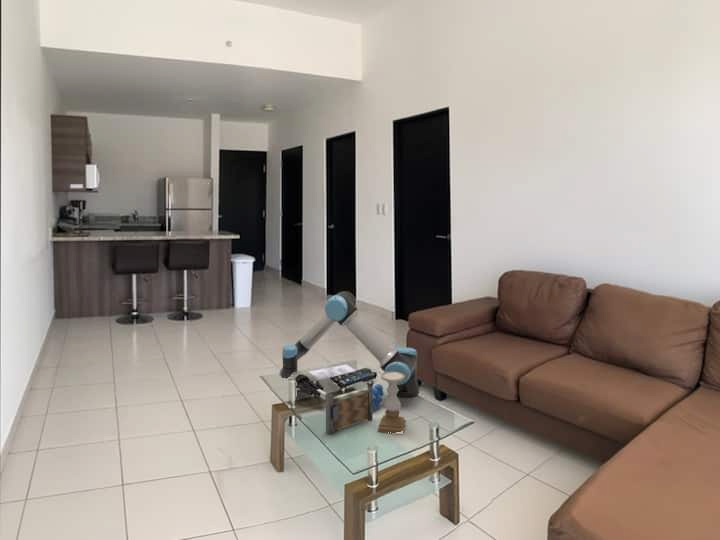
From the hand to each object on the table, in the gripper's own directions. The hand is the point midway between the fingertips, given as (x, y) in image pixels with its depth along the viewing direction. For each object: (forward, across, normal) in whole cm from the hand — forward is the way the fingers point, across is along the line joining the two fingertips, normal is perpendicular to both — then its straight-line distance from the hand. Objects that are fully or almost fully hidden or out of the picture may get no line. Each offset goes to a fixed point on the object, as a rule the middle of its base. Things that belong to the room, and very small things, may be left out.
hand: (325, 396), depth 245 cm
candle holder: (+32, -14, -7) cm, 35 cm away
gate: (+20, 0, -6) cm, 21 cm away
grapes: (+12, -20, -7) cm, 24 cm away
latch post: (+20, +10, -7) cm, 24 cm away
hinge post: (+20, -11, -7) cm, 24 cm away
